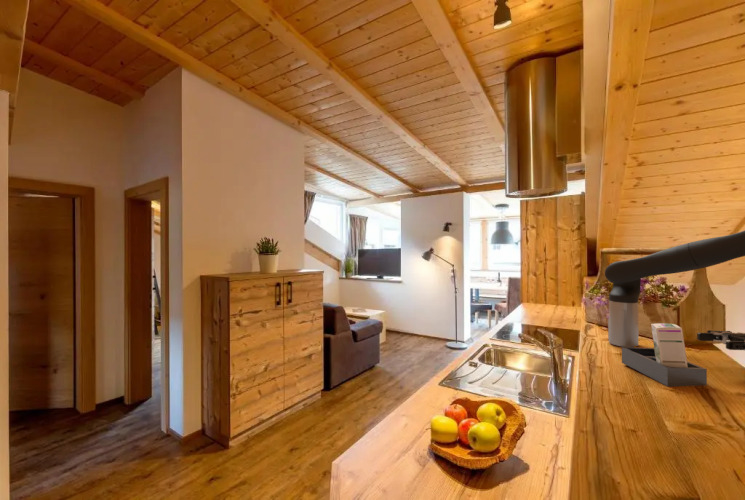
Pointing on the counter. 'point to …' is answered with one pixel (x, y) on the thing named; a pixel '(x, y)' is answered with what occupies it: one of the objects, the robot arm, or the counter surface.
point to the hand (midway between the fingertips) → (712, 340)
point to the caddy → (663, 368)
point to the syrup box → (669, 345)
